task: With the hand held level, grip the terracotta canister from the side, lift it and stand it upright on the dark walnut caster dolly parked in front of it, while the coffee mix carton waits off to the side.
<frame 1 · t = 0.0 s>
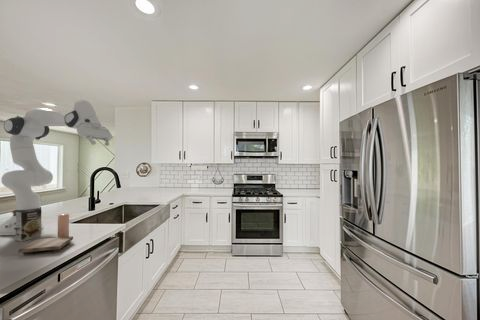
hand: (101, 144, 127), 54 cm above the countertop, tool tilted 30°, fingers open, 8 cm apart
coffee box: (28, 238, 124), on the countertop
terracotta canister: (63, 239, 123), on the countertop
caster dolly: (47, 249, 108), on the countertop
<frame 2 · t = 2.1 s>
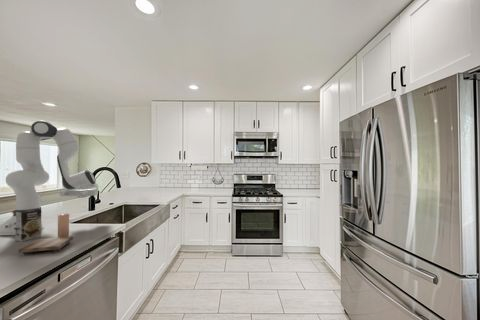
hand: (73, 194, 134), 24 cm above the countertop, tool horizontal, fingers open, 8 cm apart
nothing on the countertop moved.
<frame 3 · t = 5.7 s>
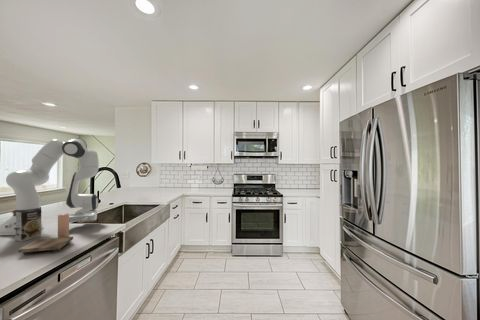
hand: (72, 220, 134), 7 cm above the countertop, tool horizontal, fingers open, 8 cm apart
nothing on the countertop moved.
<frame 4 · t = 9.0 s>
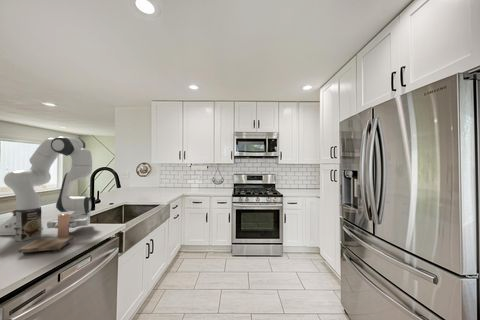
hand: (62, 226, 122), 8 cm above the countertop, tool horizontal, fingers closed on terracotta canister, 5 cm apart
terracotta canister: (63, 239, 123), on the countertop, touching gripper
everything else where it was.
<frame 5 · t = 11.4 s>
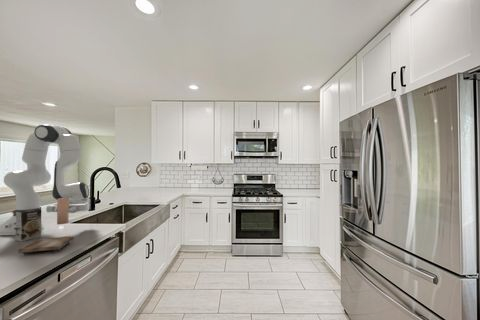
hand: (62, 210, 121), 17 cm above the countertop, tool horizontal, fingers closed on terracotta canister, 5 cm apart
terracotta canister: (62, 223, 122), point 9 cm above the countertop, touching gripper
everything else where it was.
when the fingers open (12 cm above the countertop, at t = 13.9 s): terracotta canister drops 1 cm, resting on caster dolly.
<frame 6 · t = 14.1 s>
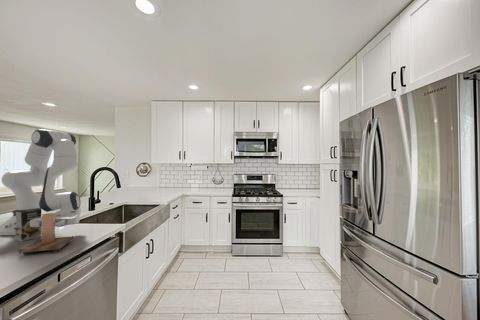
hand: (47, 225, 108), 12 cm above the countertop, tool horizontal, fingers open, 7 cm apart
terracotta canister: (48, 242, 108), point 4 cm above the countertop, touching caster dolly
everything else where it was.
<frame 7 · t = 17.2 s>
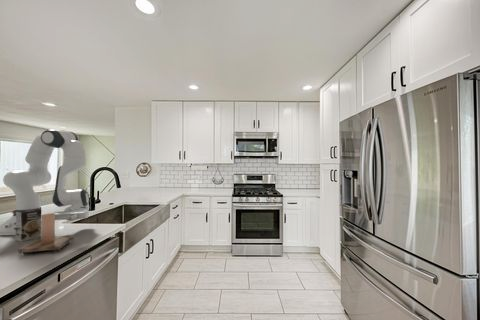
hand: (60, 218, 120), 12 cm above the countertop, tool horizontal, fingers open, 8 cm apart
nothing on the countertop moved.
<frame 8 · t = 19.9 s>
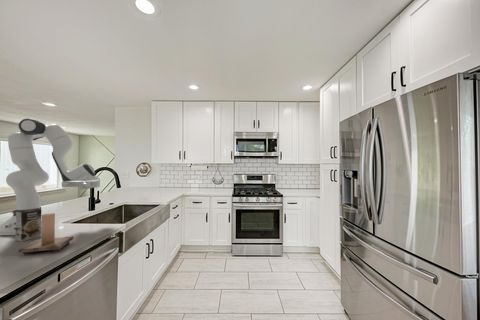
hand: (76, 184, 133), 30 cm above the countertop, tool horizontal, fingers open, 8 cm apart
nothing on the countertop moved.
at the end: terracotta canister inside the target area on the caster dolly (0.1 cm from its centre), point 3.5 cm above the caster dolly's base; terracotta canister tilted 0°; the gripper is holding nothing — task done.
